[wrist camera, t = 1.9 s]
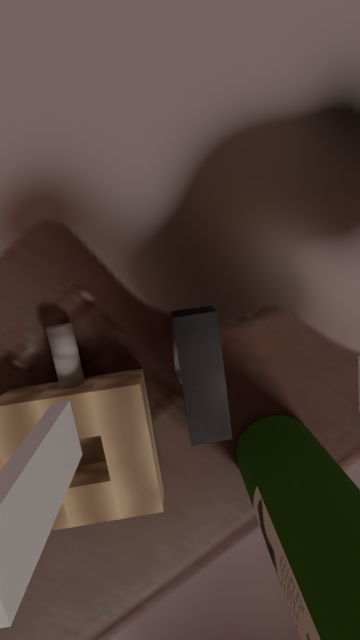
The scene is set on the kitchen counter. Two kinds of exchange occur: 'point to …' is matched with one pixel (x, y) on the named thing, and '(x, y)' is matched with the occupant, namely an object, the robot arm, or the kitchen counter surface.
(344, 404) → the kitchen counter surface
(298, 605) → the wine bottle
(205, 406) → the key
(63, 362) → the jig
